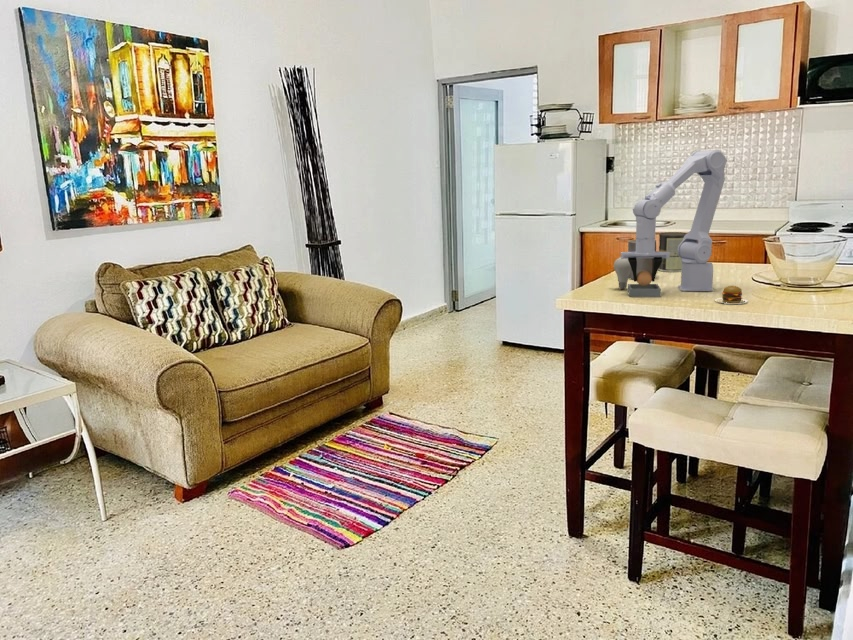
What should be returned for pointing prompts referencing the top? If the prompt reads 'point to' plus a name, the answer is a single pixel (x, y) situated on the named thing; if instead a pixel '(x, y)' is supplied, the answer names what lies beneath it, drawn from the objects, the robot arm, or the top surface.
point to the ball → (644, 278)
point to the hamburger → (732, 295)
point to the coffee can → (671, 251)
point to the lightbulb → (622, 271)
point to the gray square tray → (644, 290)
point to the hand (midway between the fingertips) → (644, 281)
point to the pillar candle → (640, 260)
